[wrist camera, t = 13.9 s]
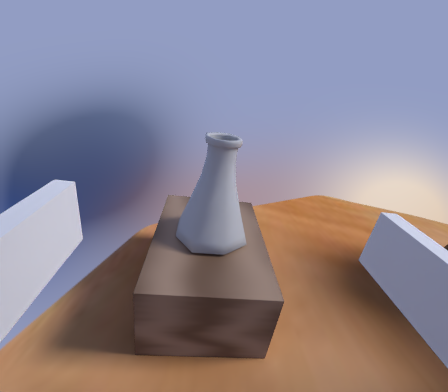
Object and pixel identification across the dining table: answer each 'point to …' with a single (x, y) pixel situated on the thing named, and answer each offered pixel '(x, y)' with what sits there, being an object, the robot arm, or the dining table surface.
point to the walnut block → (205, 294)
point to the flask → (214, 202)
